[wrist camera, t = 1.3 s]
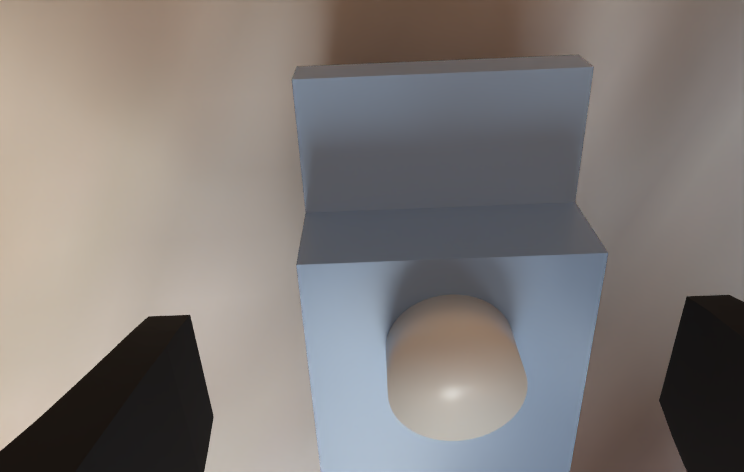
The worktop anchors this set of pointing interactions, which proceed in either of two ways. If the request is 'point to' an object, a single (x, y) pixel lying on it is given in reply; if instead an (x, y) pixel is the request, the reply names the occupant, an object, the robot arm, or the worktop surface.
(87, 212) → the worktop surface
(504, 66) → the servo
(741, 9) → the worktop surface
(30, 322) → the worktop surface
